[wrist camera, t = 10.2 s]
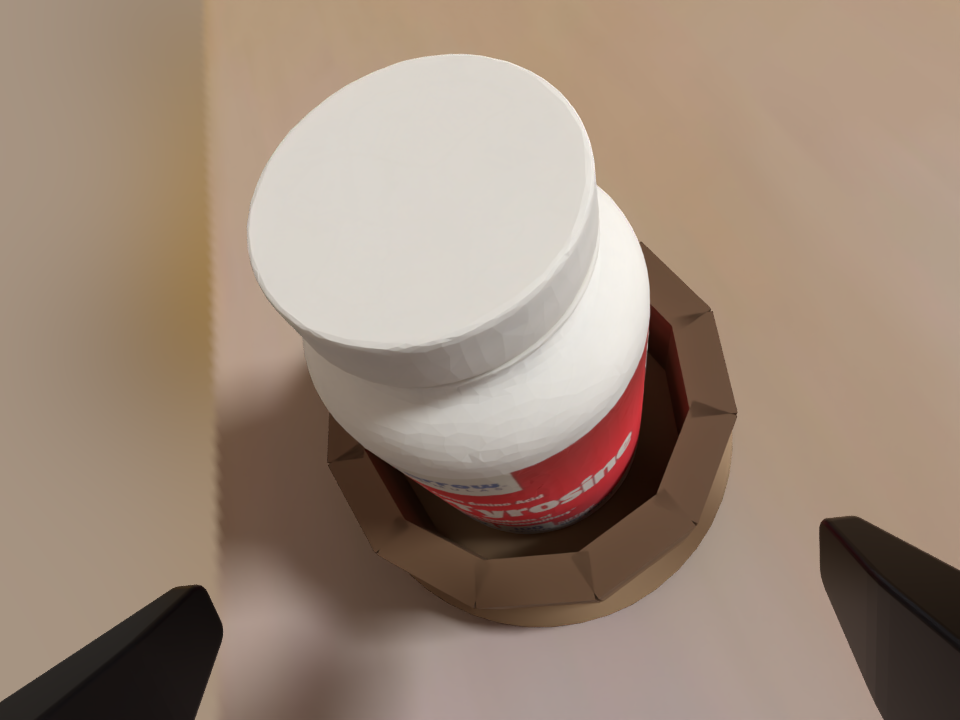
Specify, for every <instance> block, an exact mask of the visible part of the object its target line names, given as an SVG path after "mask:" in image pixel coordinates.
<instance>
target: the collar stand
mask: <svg viewBox="0 0 960 720" xmlns="http://www.w3.org/2000/svg"><path fill="white" fill-rule="evenodd" d="M638 242H639V240H638ZM639 244H640V247H641V249H642V252H643V255H644V259H645V263H646V267H647V271H648V279H649V286H650V320H649V336H648V348H647V357H646V371H645V380H644V393H643V404H642V415H641V424H640V434H639V439H638V445H637V449H636V453H635V456H634V459H633V462H632V465H631V467H630V470H629V472H628V474H627V476H626V478H625V479H624V481H623V482H622V484H621V485H620V487H619V488H618V490H617V491H616V492H615V494H614V495H613V496H612V497H611V498H610V499H609V500H608V501H607V502H606V503H605V504H604V505H603V506H602V507H601V508H599V509H598V510H597V511H596V512H594V513H593V514H591V515H590V516H588V517H587V518H585V519H583V520H581V521H579V522H577V523H575V524H573V525H570V526H568V527H565V528H562V529H559V530H554V531H550V532H544V533H536V534H517V533H511V532H505V531H501V530H498V529H494V528H491V527H489V526H486V525H484V524H482V523H480V522H478V521H476V520H474V519H472V518H470V517H469V516H467V515H465V514H464V513H462V512H461V511H459V510H458V509H456V508H455V507H453V506H452V505H450V504H449V503H447V502H446V501H444V500H443V499H441V498H440V497H438V496H436V495H435V494H433V493H432V492H430V491H429V490H427V489H426V488H424V487H423V486H422V485H420V484H419V483H417V482H415V481H414V480H412V479H411V478H409V477H408V476H407V475H405V474H404V473H402V472H401V471H399V470H398V469H396V468H394V467H393V466H392V465H390V464H389V463H387V462H385V461H384V460H382V459H381V458H379V457H378V456H376V455H375V454H373V453H372V452H370V451H369V450H368V449H365V448H364V447H363V446H362V445H361V444H360V443H359V442H358V441H357V440H356V439H354V438H353V437H352V436H351V435H350V434H349V433H348V432H347V431H346V430H345V429H344V428H343V427H342V426H341V425H340V424H339V423H338V422H337V421H336V420H335V419H334V417H333V416H332V415H331V413H330V412H329V435H328V458H327V462H328V463H330V464H329V465H328V466H329V468H330V470H331V472H332V474H333V476H334V477H335V479H336V481H337V483H338V485H339V487H340V489H341V490H342V492H343V494H344V496H345V498H346V500H347V502H348V504H349V505H350V507H351V509H352V511H353V513H354V515H355V517H356V518H357V520H358V522H359V524H360V526H361V528H362V530H363V531H364V533H365V535H366V537H367V539H368V541H369V543H370V545H371V546H372V548H373V550H374V552H375V553H378V554H377V555H378V556H380V557H382V558H383V559H385V560H387V561H389V562H391V563H393V564H394V565H396V566H398V567H400V568H402V569H403V570H405V571H407V572H408V573H409V574H410V575H411V576H413V577H414V578H415V579H416V580H417V581H418V582H419V583H421V584H422V585H423V586H424V587H425V588H426V589H427V590H429V591H430V592H432V593H433V594H435V595H437V596H438V597H440V598H441V599H443V600H444V601H446V602H447V603H449V604H451V605H453V606H455V607H457V608H459V609H461V610H464V611H466V612H468V613H470V614H472V615H475V616H478V617H482V618H485V619H488V620H492V621H495V622H498V623H505V624H511V625H518V626H524V627H555V626H563V625H570V624H577V623H583V622H587V621H590V620H594V619H597V618H600V617H604V616H607V615H610V614H612V613H614V612H617V611H619V610H621V609H623V608H626V607H628V606H630V605H632V604H634V603H635V602H637V601H639V600H640V599H642V598H643V597H645V596H646V595H648V594H650V593H651V592H653V591H654V590H656V589H657V588H658V587H659V586H660V585H661V584H663V583H664V582H665V581H666V580H667V579H668V578H670V577H671V576H672V575H673V574H674V573H675V572H676V571H678V570H679V568H680V567H681V566H682V565H683V564H684V563H685V561H686V560H687V559H688V558H689V557H690V556H691V554H692V553H693V552H694V551H695V550H696V549H697V547H698V545H699V544H700V542H701V541H702V539H703V538H704V536H705V534H706V533H707V531H708V530H709V528H710V526H711V525H712V522H713V520H714V518H715V515H716V513H717V511H718V509H719V506H720V504H721V502H722V499H723V495H724V492H725V488H726V485H727V481H728V477H729V472H730V464H731V456H732V429H733V426H734V424H735V421H736V418H737V416H736V414H737V408H736V404H735V400H734V396H733V392H732V388H731V384H730V380H729V376H728V372H727V368H726V364H725V360H724V356H723V352H722V348H721V343H720V339H719V335H718V331H717V327H716V323H715V319H714V315H713V311H711V308H710V307H709V306H708V305H707V304H706V303H705V302H704V301H703V300H702V299H700V298H699V297H698V296H697V295H696V294H695V293H694V292H693V291H692V290H691V289H690V288H689V287H688V286H687V285H686V284H685V283H684V282H683V281H682V280H681V279H680V278H679V277H678V276H677V275H676V274H675V273H673V272H672V271H671V270H670V269H669V268H668V267H667V266H666V265H665V264H664V263H663V262H662V261H661V260H660V259H659V258H658V257H657V256H656V255H655V254H654V253H653V252H652V251H651V250H650V249H649V248H648V247H646V246H645V245H644V244H643V243H642V242H639ZM710 311H711V312H710Z"/></svg>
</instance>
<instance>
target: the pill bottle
mask: <svg viewBox="0 0 960 720" xmlns="http://www.w3.org/2000/svg"><path fill="white" fill-rule="evenodd" d="M247 244H248V252H249V257H250V262H251V266H252V269H253V272H254V275H255V277H256V280H257V282H258V284H259V286H260V288H261V290H262V291H263V293H264V295H265V296H266V298H267V299H268V301H269V302H270V303H271V304H272V306H273V307H274V308H275V309H276V311H277V312H278V313H279V314H280V315H281V316H282V317H283V318H284V319H285V320H286V321H287V322H288V323H289V324H290V325H291V326H292V327H293V328H294V329H295V330H296V331H297V332H298V333H299V334H300V335H301V336H302V338H303V348H304V355H305V358H306V362H307V366H308V370H309V373H310V376H311V379H312V382H313V384H314V386H315V389H316V391H317V392H318V394H319V396H320V398H321V400H322V401H323V403H324V405H325V406H326V408H327V409H328V410H329V412H330V413H331V415H332V416H333V417H334V419H335V420H336V421H337V422H338V423H339V424H340V425H341V426H342V427H343V428H344V429H345V430H346V431H347V432H348V433H349V434H350V435H351V436H352V437H353V438H354V439H356V440H357V441H358V442H359V443H360V444H361V445H362V446H363V447H364V448H365V449H368V450H369V451H370V452H372V453H373V454H375V455H376V456H378V457H379V458H381V459H382V460H384V461H385V462H387V463H389V464H390V465H392V466H393V467H394V468H396V469H398V470H399V471H401V472H402V473H404V474H405V475H407V476H408V477H409V478H411V479H412V480H414V481H415V482H417V483H419V484H420V485H422V486H423V487H424V488H426V489H427V490H429V491H430V492H432V493H433V494H435V495H436V496H438V497H440V498H441V499H443V500H444V501H446V502H447V503H449V504H450V505H452V506H453V507H455V508H456V509H458V510H459V511H461V512H462V513H464V514H465V515H467V516H469V517H470V518H472V519H474V520H476V521H478V522H480V523H482V524H484V525H486V526H489V527H491V528H494V529H498V530H501V531H505V532H511V533H517V534H536V533H544V532H550V531H554V530H559V529H562V528H565V527H568V526H570V525H573V524H575V523H577V522H579V521H581V520H583V519H585V518H587V517H588V516H590V515H591V514H593V513H594V512H596V511H597V510H598V509H599V508H601V507H602V506H603V505H604V504H605V503H606V502H607V501H608V500H609V499H610V498H611V497H612V496H613V495H614V494H615V492H616V491H617V490H618V488H619V487H620V485H621V484H622V482H623V481H624V479H625V478H626V476H627V474H628V472H629V470H630V467H631V465H632V462H633V459H634V456H635V453H636V449H637V445H638V439H639V434H640V424H641V415H642V404H643V393H644V380H645V371H646V357H647V348H648V336H649V320H650V286H649V279H648V271H647V267H646V263H645V259H644V255H643V252H642V249H641V247H640V244H639V242H638V239H637V237H636V235H635V233H634V231H633V228H632V227H631V225H630V224H629V222H628V220H627V219H626V217H625V215H624V214H623V213H622V211H621V210H620V209H619V207H618V206H617V205H616V203H615V202H614V201H613V200H612V199H611V198H610V196H609V195H608V194H606V193H605V192H604V191H603V190H602V189H601V188H600V187H598V186H597V185H596V176H595V164H594V157H593V153H592V148H591V144H590V141H589V138H588V135H587V132H586V130H585V128H584V125H583V123H582V121H581V119H580V117H579V116H578V114H577V112H576V111H575V109H574V108H573V107H572V105H571V104H570V103H569V102H568V100H567V99H566V98H565V97H564V96H563V95H562V94H561V93H560V91H558V90H557V89H556V88H555V87H554V86H552V85H551V84H550V83H549V82H547V81H546V80H545V79H543V78H541V77H540V76H538V75H536V74H534V73H533V72H531V71H529V70H527V69H524V68H522V67H520V66H518V65H515V64H513V63H510V62H508V61H503V60H499V59H494V58H490V57H485V56H479V55H469V54H447V55H436V56H427V57H421V58H416V59H411V60H406V61H402V62H399V63H396V64H393V65H390V66H388V67H386V68H383V69H380V70H377V71H375V72H372V73H370V74H368V75H366V76H364V77H362V78H360V79H358V80H356V81H354V82H352V83H350V84H348V85H346V86H345V87H343V88H342V89H340V90H339V91H337V92H336V93H334V94H333V95H331V96H330V97H328V98H327V99H326V100H324V101H323V102H322V103H320V104H319V105H318V106H317V107H315V108H314V109H313V110H312V111H310V112H309V113H308V114H307V115H306V116H305V117H304V118H303V119H302V120H301V121H300V122H299V123H298V124H297V125H296V126H295V127H293V128H292V129H291V130H290V131H289V133H288V134H287V135H286V137H285V138H284V139H283V140H282V142H281V143H280V144H279V146H278V147H277V149H276V150H275V151H274V153H273V154H272V156H271V157H270V159H269V161H268V163H267V164H266V166H265V168H264V170H263V172H262V174H261V176H260V178H259V181H258V183H257V186H256V189H255V191H254V194H253V197H252V200H251V203H250V209H249V216H248V222H247Z"/></svg>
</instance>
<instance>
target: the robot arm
mask: <svg viewBox="0 0 960 720" xmlns="http://www.w3.org/2000/svg"><path fill="white" fill-rule="evenodd" d="M819 541H820V572H821V578H822V582H823V585H824V588H825V590H826V592H827V595H828V597H829V599H830V602H831V604H832V606H833V609H834V611H835V613H836V616H837V618H838V620H839V622H840V625H841V627H842V629H843V632H844V634H845V636H846V639H847V641H848V643H849V646H850V648H851V650H852V652H853V655H854V657H855V659H856V662H857V664H858V666H859V669H860V671H861V673H862V676H863V678H864V680H865V683H866V685H867V687H868V689H869V691H870V694H871V696H872V698H873V700H874V702H875V704H876V706H877V708H878V710H879V712H880V714H881V716H882V718H883V719H884V720H960V570H958V569H956V568H954V567H953V566H951V565H949V564H947V563H945V562H943V561H941V560H939V559H937V558H936V557H934V556H932V555H930V554H928V553H926V552H924V551H922V550H920V549H918V548H917V547H915V546H913V545H911V544H909V543H907V542H905V541H903V540H901V539H899V538H898V537H896V536H894V535H892V534H890V533H888V532H886V531H884V530H882V529H880V528H879V527H877V526H875V525H873V524H871V523H869V522H867V521H865V520H863V519H861V518H859V517H857V516H844V517H834V518H826V519H824V520H823V521H822V522H821V524H820V527H819ZM222 638H223V626H222V622H221V620H220V618H219V616H218V614H217V611H216V609H215V607H214V605H213V603H212V601H211V599H210V596H209V594H208V592H207V591H206V589H205V588H204V587H202V586H201V585H188V586H179V587H175V588H173V589H171V590H170V591H168V592H167V593H165V594H163V595H162V596H160V597H159V598H157V599H156V600H155V601H153V602H151V603H150V604H148V605H147V606H145V607H144V608H142V609H141V610H139V611H138V612H136V613H135V614H133V615H132V616H130V617H129V618H127V619H126V620H124V621H123V622H121V623H120V624H118V625H116V626H115V627H113V628H112V629H111V630H109V631H107V632H106V633H104V634H103V635H101V636H100V637H98V638H97V639H95V640H94V641H92V642H91V643H89V644H88V645H86V646H85V647H83V648H82V649H80V650H79V651H77V652H76V653H74V654H73V655H71V656H70V657H68V658H66V659H65V660H63V661H62V662H60V663H59V664H57V665H56V666H54V667H53V668H51V669H50V670H48V671H47V672H45V673H44V674H42V675H41V676H39V677H38V678H36V679H35V680H33V681H32V682H30V683H29V684H27V685H26V686H24V687H23V688H21V689H20V690H18V691H16V692H15V693H14V694H12V695H11V696H9V697H7V698H6V699H4V700H3V701H1V702H0V720H195V717H196V714H197V711H198V708H199V706H200V703H201V700H202V697H203V694H204V691H205V688H206V685H207V683H208V680H209V677H210V674H211V671H212V668H213V665H214V662H215V660H216V657H217V654H218V651H219V648H220V645H221V642H222Z"/></svg>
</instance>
